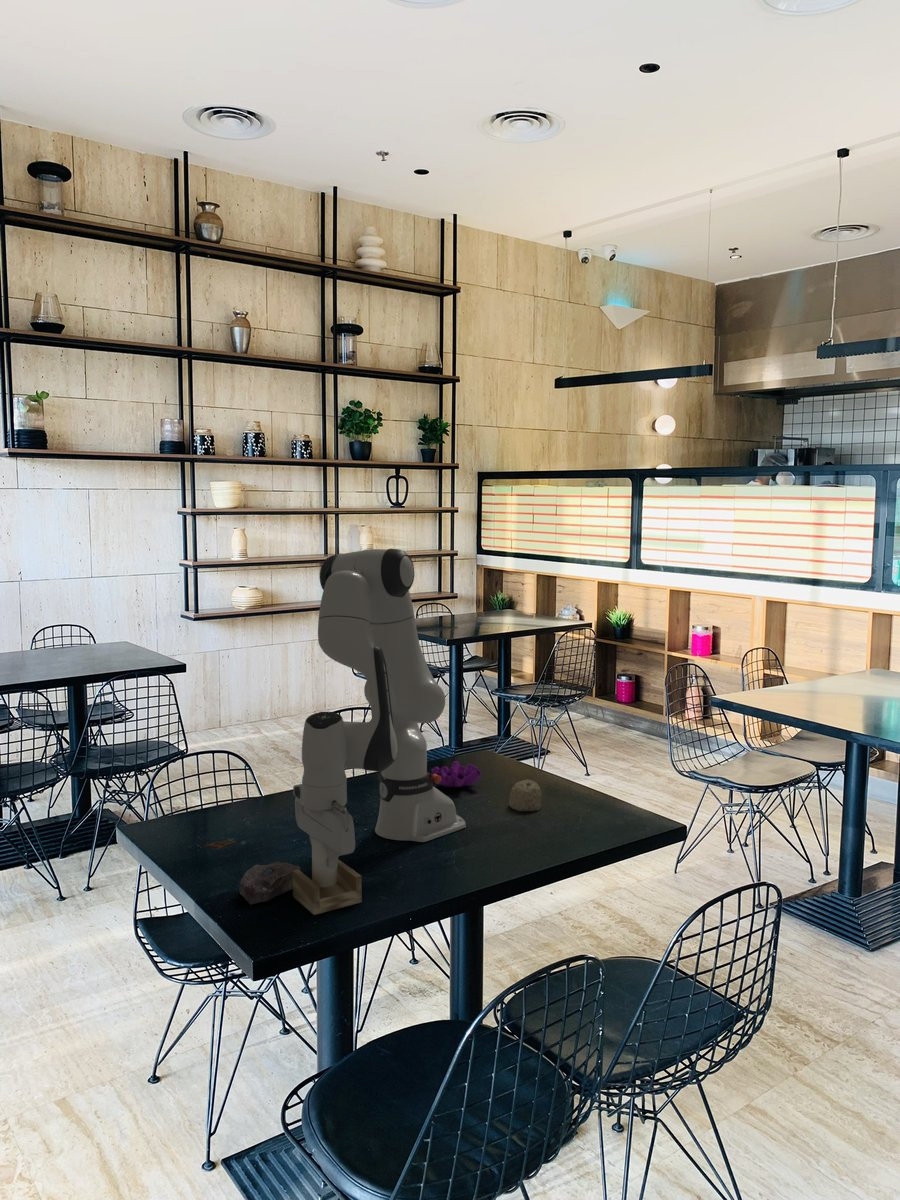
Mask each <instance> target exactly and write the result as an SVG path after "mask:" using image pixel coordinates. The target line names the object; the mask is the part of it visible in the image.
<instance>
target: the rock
mask: <svg viewBox="0 0 900 1200" xmlns="http://www.w3.org/2000/svg"><path fill="white" fill-rule="evenodd" d="M297 869H298V870H299V871H301V872H302V870H301V867H300V866H299V865H296V864H295V865H293V864H292V863H289V862H285V861H284V862H280V861H275V862H272V863H269V864H265V865H261V864H255V865H254V866H252V867H251V868H249V869H248V870H246V872H245V873H244V874H243V876H242V878H240V879H241V881H240V883H239V887H238V891H239V894H240V895H241V896H242V897H243V898H244V900H245V901H247V902H248V904H249V905H251V906H252V905H255V904H259V903H263V902H264V903H265V902H268V901H271V900H272V899H274V898H275V897H277V896H281V895H282V894H285V893H287V892H290V891H291V890H293V873H292V871H293V870H297Z"/></svg>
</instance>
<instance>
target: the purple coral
mask: <svg viewBox="0 0 900 1200" xmlns="http://www.w3.org/2000/svg"><path fill="white" fill-rule="evenodd" d="M450 765H451V766H450V767H449V768H448V766H447V765H445V766H443V767H441V768H439V767H438V766H433V767H432V768H431V771H430V772H431V774H432V775H433V774H437V775H439V776H440V777H441V781H439V782H440V783H439V785H442V786H444V787H448V788H460V787H467V786H471V785H473V784H475V783H477V781H478V780H479V779H481V777H482V772H481V771H480V770H479V767H477V766H475V765H474V764H472V763H467V765H466V766H464V765H460V762H459V761H457V760H455V761H454V760H453V761H452V762H451V764H450Z"/></svg>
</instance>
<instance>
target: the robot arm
mask: <svg viewBox="0 0 900 1200" xmlns="http://www.w3.org/2000/svg"><path fill="white" fill-rule="evenodd" d="M319 569H320V570H319V583H320V586H321V589H322V590H323V591H322V595H321V599H320V600H321V601H320V605H319V613H318V622H317V623H318V624H317V625H318V626H317V639H318V640H317V641H318V645H319V647H320V649H321V650H322V652H323V653H324V654H325V655H326V656H327V657H328V658H330V659H331V660H333V661H334V662H336V663H339V664H340V665H343V666H346V667H347V668H349V669H353V670H354V671H356V672H358V673H360V674H361V675H363V677H364V678H365V679H366V682H365V684H364V688H363V689H364V690H363V692H364V693H363V694H364V697H365V700H366V702H367V703H368V704H369V706H370V713H371V714H370V715H371V719H370V720H369V721H345V720H344V719H343V717H342V715H341V714H339V713H337V712H332V711H319V712H315V713H313V714H311V715H309V716H308V717H306V718H305V721H304V725H303V733H302V741H301V762H302V766H303V775H302V779H301V783H299V784H296V785H293V787H292V792H293V793H292V794H293V797H295V799H294V811H295V813H294V814H295V821H296V824H297V827H298V828H299V829H300V830H301V831H303V832H305V833H306V834H307V835H308V836H309V841H310V845H311V846H312V838H315V839H316V840H317V841H319V842H320V843H321V844H323V845H324V846H326V847H327V848H328V852H329V858H327V859H326V862H327V864H326V865H327V867H329V868H330V869H334V868H337V866H338V860H339V858H340V856H341V857H342V856H347V855H349V854H353V853H354V852H355V849H356V839H355V838H356V837H355V836H356V835H355V825H354V819H353V817H352V815H351V813H349V812H348V809H347V807H346V806H345V805H346V804H347V802H348V800H347V799H348V792H347V791H348V790H347V789H348V788H347V787H348V785H347V783H348V782H347V780H348V779H347V774H346V771H345V770H346V769H350V770H351V769H353V770H364V771H370V772H378V773H379V797H380V803H379V812H378V818H377V820H376V821H377V822H376V826H375V828H374V832H375V834H376V835H378V836H379V837H382V838H384V839H389V840H393V841H394V840H395V841H412V842H418V843H425V842H428V841H431V840H435V839H436V838H440V837H442V836H446V835H448V834H451V833H455V832H457V831H460V830H462V829H464V828H466V821H465V820H464V818H462V817H461V816H460V815H458V814H457V809H456V806H455V803H454V801H453V800H452V799H451V798H450V797H449V796H448V795H446V794H444V793H443V792H442V791H440V790H439V789H438V788H436V787H435V786H434V784H433V783H435V784H437V785H438V784H440V782H439V781H441V777H440V776H439V775H437V774H433V773H432V772H431V773H430V772H428V767H427V765H428V756H427V755H428V754H427V753H428V750H427V749H428V747H427V741H426V738H425V737H424V734H423V733H422V731H421V729H420V727H419V724H430V723H432V722H434V721H436V720H438V719H439V718H441V717H440V716H441V715H442V713H443V711H444V709H445V707H446V696H445V695H446V694H445V693H444V690H443V688H442V687H441V686H440V685H439V684H438V682H437V681H436V680H435V678H434V676H433V674H432V673H431V671H430V669H429V666H428V664H427V662H426V659H425V656H424V653H423V651H422V648H421V645H420V641H419V635H418V628H417V623H416V616H415V611H414V605H413V602H412V601H413V600H412V598H411V594H410V590H411V588H412V587H413V584H414V580H415V567H414V561H413V560H412V557H410V555H409V554H408V553H407V552H406V551H405V550H402V549H396V548H388V549H378V548H377V549H375V548H374V549H373V548H372V549H371V548H369V549H363V550H359V551H358V550H357V551H352V552H348V553H342V552H340V553H336V554H333V555H330V556H328V557H327V558H326V559H324V561H323V563H322V565H321V566H320V568H319Z"/></svg>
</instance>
